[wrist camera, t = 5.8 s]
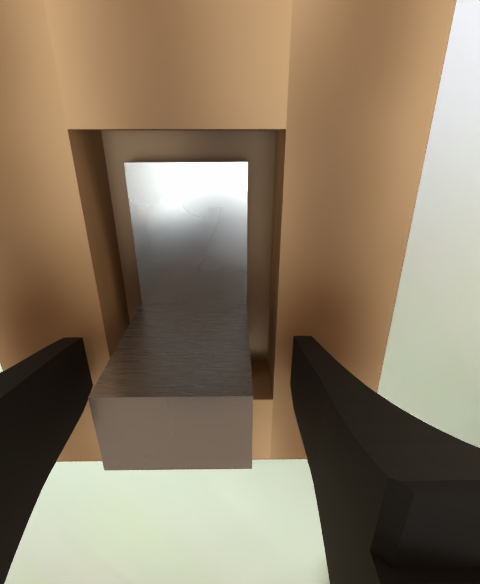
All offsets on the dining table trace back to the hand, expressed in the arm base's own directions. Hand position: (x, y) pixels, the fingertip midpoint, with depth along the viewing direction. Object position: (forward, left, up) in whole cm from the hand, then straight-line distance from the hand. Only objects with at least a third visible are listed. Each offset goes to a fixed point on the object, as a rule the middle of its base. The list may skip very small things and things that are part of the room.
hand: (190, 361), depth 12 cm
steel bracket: (0, -3, -3) cm, 4 cm away
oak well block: (0, -2, -4) cm, 4 cm away
